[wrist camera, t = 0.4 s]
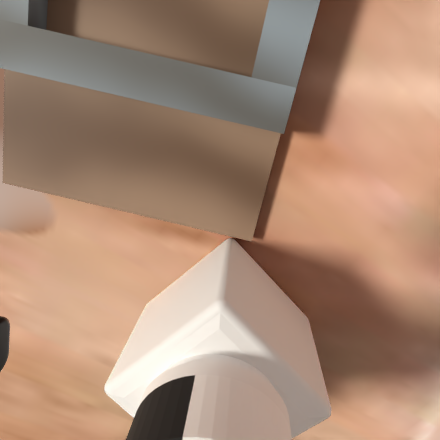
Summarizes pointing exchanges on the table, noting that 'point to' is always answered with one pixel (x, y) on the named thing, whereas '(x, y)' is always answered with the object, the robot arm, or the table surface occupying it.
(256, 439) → the medicine bottle
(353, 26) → the table surface
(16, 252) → the table surface
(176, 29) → the brown panel with frame
